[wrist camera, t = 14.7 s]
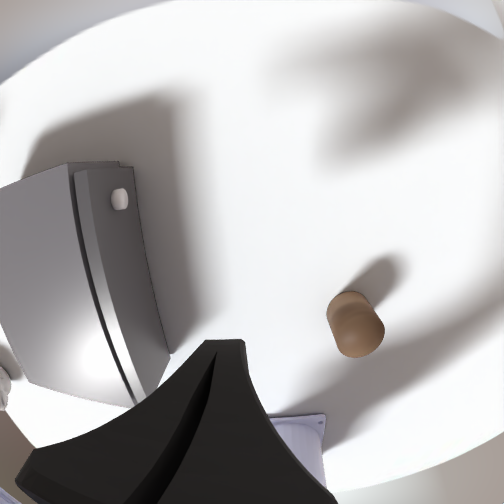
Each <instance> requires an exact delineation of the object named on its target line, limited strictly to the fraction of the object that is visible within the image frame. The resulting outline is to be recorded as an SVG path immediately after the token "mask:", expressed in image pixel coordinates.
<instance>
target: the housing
mask: <svg viewBox="0 0 504 504" xmlns="http://www.w3.org/2000/svg"><path fill="white" fill-rule="evenodd" d="M117 167H119V161H112V162H75V163H65V164H62V165H59V166H56V167H53V168H51V169H48V170H45V171H42V172H40V173H37V174H34V175H32V176H29V177H27V178H24V179H22V180H19V181H17V182H14V183H12V184H10V185H7V186H5V187H3V188H0V323H1V326H2V328H3V330H4V333H5V335H6V337H7V340H8V342H9V344H10V346H11V348H12V351H13V353H14V355H15V357H16V359H17V361H18V363H19V365H20V366H21V368H22V370H23V372H24V374H25V376H26V378H27V379H28V381H29V382H30V383H32V384H35V385H38V386H41V387H44V388H47V389H51V390H54V391H57V392H61V393H64V394H68V395H71V396H75V397H79V398H83V399H87V400H91V401H96V402H100V403H105V404H110V405H115V406H120V407H126V408H133V407H134V406H135V405H137V404H138V402H137V400H136V398H135V395H134V393H133V391H132V389H131V387H130V384H129V382H128V380H127V377H126V375H125V373H124V370H123V368H122V366H121V363H120V361H119V358H118V355H117V353H116V350H115V348H114V345H113V342H112V339H111V337H110V334H109V331H108V328H107V325H106V322H105V319H104V316H103V313H102V310H101V306H100V303H99V300H98V296H97V293H96V289H95V285H94V282H93V278H92V274H91V270H90V266H89V262H88V257H87V253H86V248H85V244H84V239H83V233H82V228H81V222H80V217H79V210H78V204H77V197H76V189H75V180H74V173H75V172H79V171H82V170H86V169H98V168H117Z"/></svg>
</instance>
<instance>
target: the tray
mask: <svg viewBox="0 0 504 504" xmlns="http://www.w3.org/2000/svg"><path fill="white" fill-rule="evenodd" d="M74 180H75V189H76V197H77V204H78V210H79V217H80V222H81V228H82V233H83V239H84V244H85V248H86V253H87V257H88V262H89V266H90V270H91V274H92V278H93V282H94V285H95V289H96V293H97V296H98V300H99V303H100V306H101V310H102V313H103V316H104V319H105V322H106V325H107V328H108V331H109V334H110V337H111V339H112V342H113V345H114V348H115V350H116V353H117V355H118V358H119V361H120V363H121V366H122V368H123V370H124V373H125V375H126V377H127V380H128V382H129V384H130V387H131V389H132V391H133V393H134V395H135V398H136V400H137V402H138V403H140V402H141V401H143V400H144V399H145V398H146V397H148V396H149V395H150V394H151V393H153V392H154V391H155V390H156V389H157V387H158V384H159V382H160V380H161V378H162V376H163V373H164V371H165V369H166V367H167V365H168V363H169V360H170V354H169V351H168V348H167V344H166V341H165V337H164V333H163V330H162V326H161V322H160V318H159V314H158V310H157V306H156V302H155V297H154V293H153V289H152V284H151V280H150V275H149V270H148V265H147V260H146V255H145V249H144V244H143V238H142V232H141V226H140V220H139V213H138V206H137V199H136V191H135V182H134V173H133V167H117V168H98V169H86V170H82V171H79V172H75V173H74Z"/></svg>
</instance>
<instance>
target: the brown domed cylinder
mask: <svg viewBox="0 0 504 504" xmlns="http://www.w3.org/2000/svg"><path fill="white" fill-rule="evenodd" d="M327 319H328V322H329V325H330V328H331V330H332V333H333V336H334V338H335V341H336V344H337V347H338V349H339V351H340V352H341V353H342V354H343V355H345V356H347V357H352V358H358V357H363V356H365V355H368V354H370V353H371V352H373V351H374V350H375V349H376V348H377V347H378V346H379V345H380V344H381V342H382V340H383V338H384V334H385V328H384V325H383V323H382V321H381V320H380V318H379V317H378V315H377V314H376V313H375V311H374V310H373V308H372V307H371V305H370V304H369V302H368V301H367V300H366V298H365V297H364V296H363V295H362V294H360V293H358V292H355V291H348V292H344V293H341V294H339V295H338V296H336V297H335V298H334V299H333V300H332V301H331V302H330V304H329V306H328V308H327Z"/></svg>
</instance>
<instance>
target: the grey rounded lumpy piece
mask: <svg viewBox="0 0 504 504" xmlns="http://www.w3.org/2000/svg"><path fill="white" fill-rule="evenodd" d="M10 390H11V380H10V377H9V375H8V373H7V372H6V371H5V370H4V369H3V368H2V367H0V410H3V411H5V407H6V406H7V405H8V404H7V402H8V396H7V395H8V394H9V392H10Z"/></svg>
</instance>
